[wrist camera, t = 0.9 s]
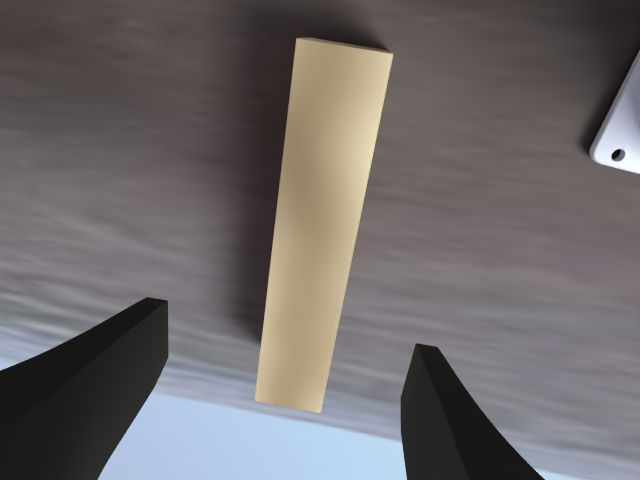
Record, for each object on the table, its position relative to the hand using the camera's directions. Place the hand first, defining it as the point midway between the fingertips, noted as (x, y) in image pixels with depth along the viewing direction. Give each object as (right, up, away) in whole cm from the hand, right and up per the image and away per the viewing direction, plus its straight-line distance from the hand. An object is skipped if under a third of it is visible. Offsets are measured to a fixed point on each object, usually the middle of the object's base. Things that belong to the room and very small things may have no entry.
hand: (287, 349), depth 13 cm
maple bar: (+1, +4, +9) cm, 10 cm away
